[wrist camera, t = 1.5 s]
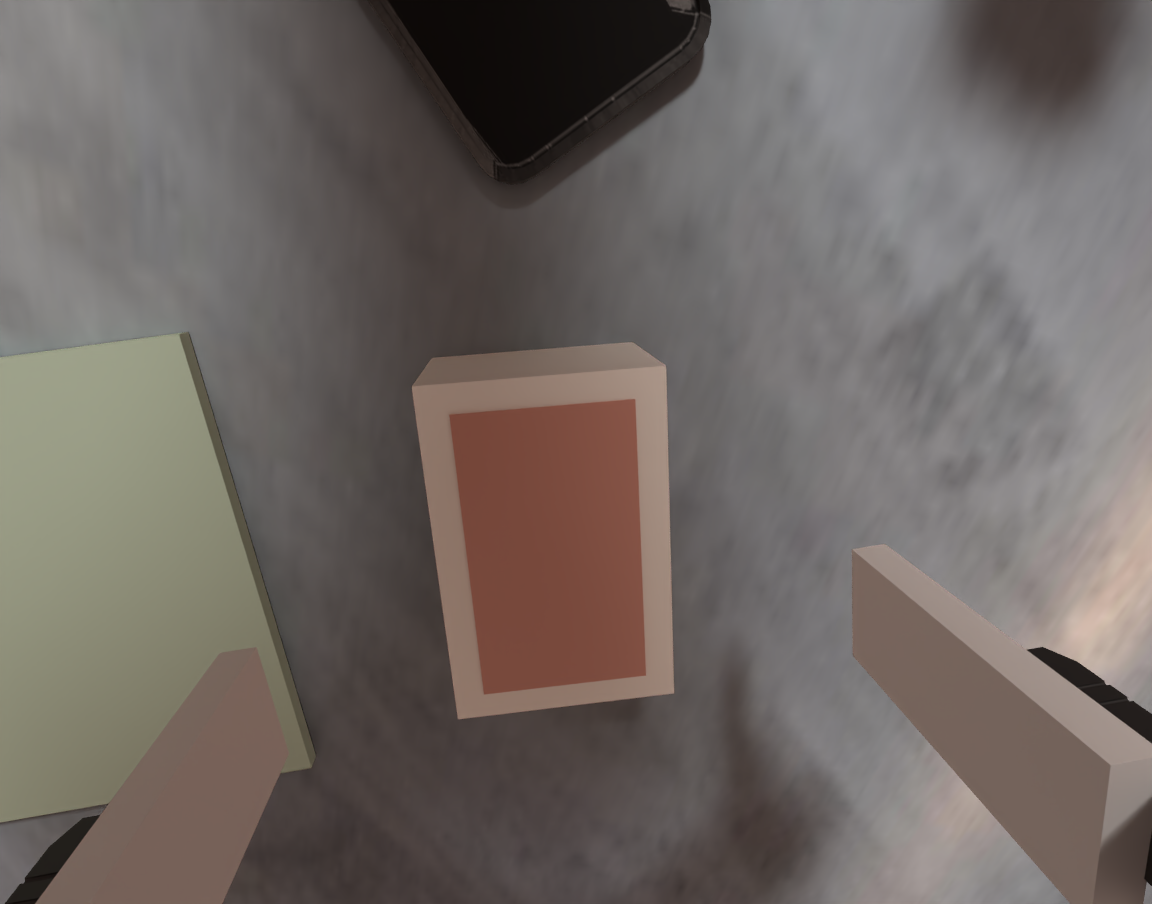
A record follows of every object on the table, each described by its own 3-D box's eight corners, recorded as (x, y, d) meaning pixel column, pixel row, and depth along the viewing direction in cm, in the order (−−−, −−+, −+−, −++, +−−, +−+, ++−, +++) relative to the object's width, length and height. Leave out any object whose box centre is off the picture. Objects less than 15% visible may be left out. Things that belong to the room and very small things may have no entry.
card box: (432, 356, 21) (411, 387, 16) (631, 341, 22) (666, 366, 17) (467, 627, 24) (457, 720, 19) (641, 608, 25) (674, 694, 20)
